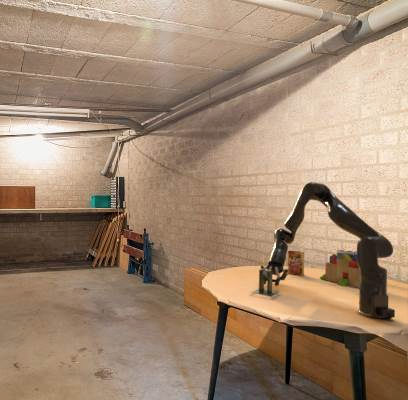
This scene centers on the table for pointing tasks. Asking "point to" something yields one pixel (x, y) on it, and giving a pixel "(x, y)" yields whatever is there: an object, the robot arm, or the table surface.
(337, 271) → the block set
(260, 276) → the bracket
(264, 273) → the lever
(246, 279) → the table surface
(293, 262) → the candy box
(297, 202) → the robot arm
